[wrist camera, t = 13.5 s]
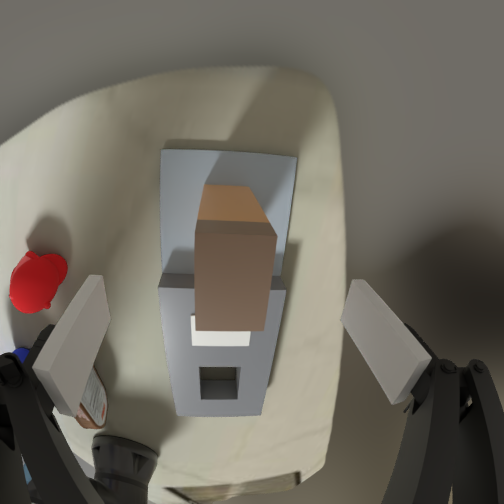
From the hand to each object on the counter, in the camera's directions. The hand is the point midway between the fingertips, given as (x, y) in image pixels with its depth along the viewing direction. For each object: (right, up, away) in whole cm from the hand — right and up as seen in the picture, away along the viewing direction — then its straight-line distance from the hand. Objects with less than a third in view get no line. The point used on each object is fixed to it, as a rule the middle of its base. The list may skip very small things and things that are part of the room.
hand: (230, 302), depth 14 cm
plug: (-1, +6, +12) cm, 13 cm away
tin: (-22, -14, +19) cm, 33 cm away
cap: (-23, 0, +12) cm, 26 cm away
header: (-3, -9, +19) cm, 22 cm away
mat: (-1, +6, +12) cm, 14 cm away
